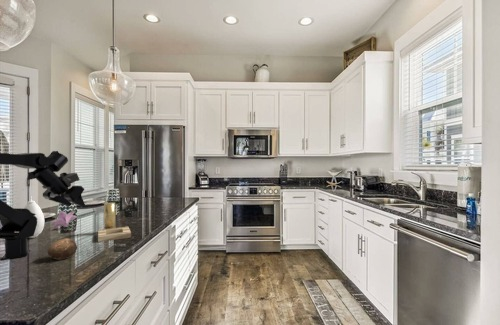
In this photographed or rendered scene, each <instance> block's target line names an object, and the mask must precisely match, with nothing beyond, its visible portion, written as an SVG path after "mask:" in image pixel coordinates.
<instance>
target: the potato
mask: <svg viewBox="0 0 500 325" xmlns="http://www.w3.org/2000/svg"><path fill="white" fill-rule="evenodd" d="M77 250H78V246H77V243H76V241H74V239H71V238H61V239H59V240H56V241H55V242H53V243H51V244H50V245H49V246H48V248H47V250H46V251H47V255H48V257H49V258H51V259H53V260H59V261H60V260H61V261H62V260H66V259H68V258H71V257H73V256H74V255H75V254H76V252H77Z"/></svg>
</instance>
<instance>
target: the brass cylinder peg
mask: <svg viewBox="0 0 500 325" xmlns="http://www.w3.org/2000/svg"><path fill="white" fill-rule="evenodd" d="M103 209H104V210H103V214H104V216H103V218H104V220H103V221H104V223H103V224H104V226H103V227H104V229H112V228H116V202H105V203H104V204H103Z"/></svg>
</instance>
